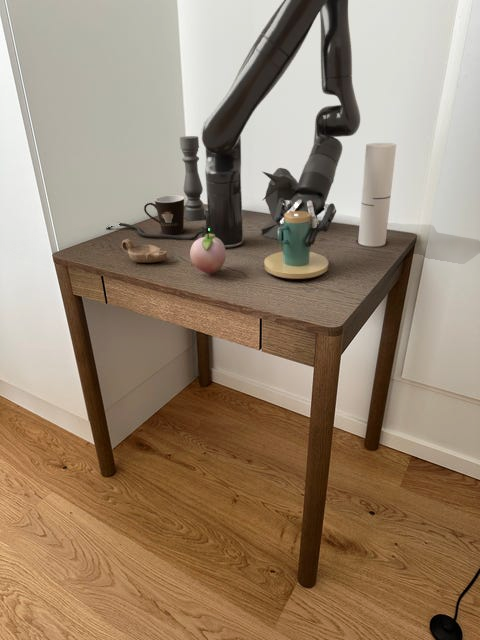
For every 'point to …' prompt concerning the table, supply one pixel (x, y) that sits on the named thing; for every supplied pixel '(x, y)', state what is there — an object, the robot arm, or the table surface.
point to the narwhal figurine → (278, 196)
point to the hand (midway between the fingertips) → (293, 242)
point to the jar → (295, 250)
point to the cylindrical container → (376, 193)
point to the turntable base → (295, 279)
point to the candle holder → (192, 178)
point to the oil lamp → (143, 252)
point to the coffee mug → (169, 213)
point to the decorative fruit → (208, 253)
